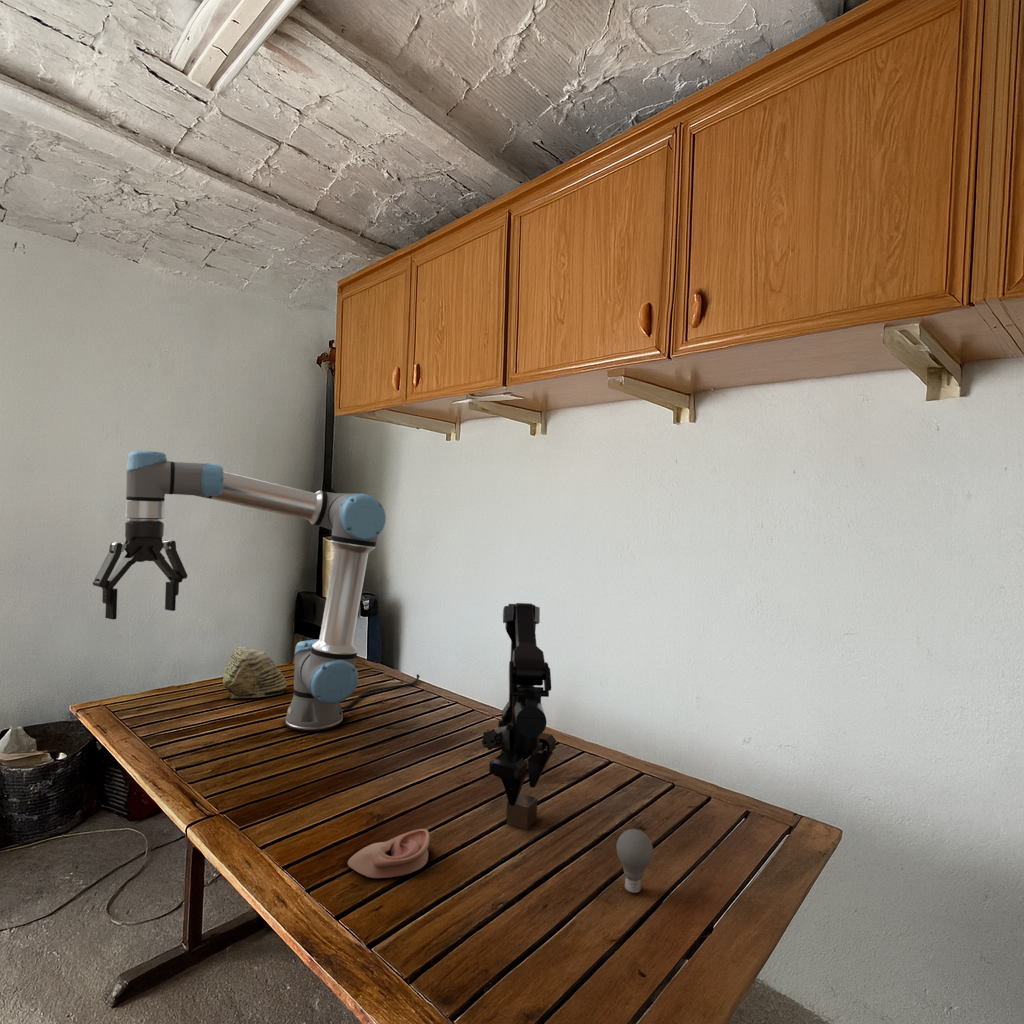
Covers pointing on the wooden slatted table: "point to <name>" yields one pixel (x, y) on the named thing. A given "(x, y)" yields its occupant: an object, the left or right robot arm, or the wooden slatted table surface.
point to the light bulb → (634, 857)
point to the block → (522, 812)
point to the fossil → (252, 674)
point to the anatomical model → (393, 856)
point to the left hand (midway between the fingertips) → (141, 614)
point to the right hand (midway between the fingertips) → (522, 795)
